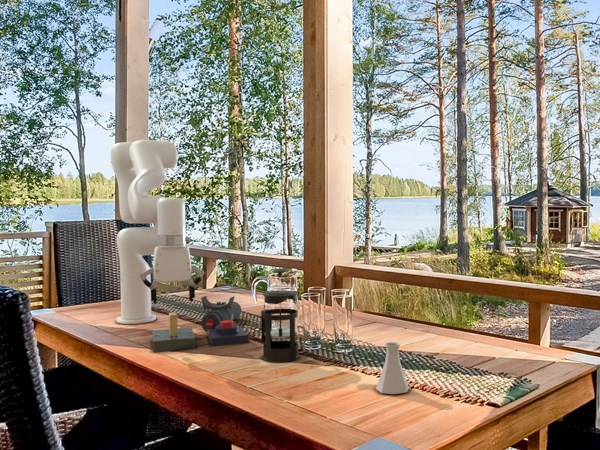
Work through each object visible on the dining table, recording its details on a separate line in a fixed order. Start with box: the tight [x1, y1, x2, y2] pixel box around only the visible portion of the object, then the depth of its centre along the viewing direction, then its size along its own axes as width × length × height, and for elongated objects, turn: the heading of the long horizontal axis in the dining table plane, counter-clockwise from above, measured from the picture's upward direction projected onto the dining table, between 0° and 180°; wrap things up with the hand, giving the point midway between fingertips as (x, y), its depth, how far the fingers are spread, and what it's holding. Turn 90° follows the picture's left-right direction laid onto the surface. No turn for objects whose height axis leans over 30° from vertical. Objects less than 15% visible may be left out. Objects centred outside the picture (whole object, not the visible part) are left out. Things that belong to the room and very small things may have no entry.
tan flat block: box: [168, 311, 179, 336], centre depth 161 cm, size 6×2×6 cm, turn 22°
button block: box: [206, 323, 249, 347], centre depth 167 cm, size 12×10×4 cm
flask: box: [375, 341, 410, 395], centre depth 123 cm, size 7×7×10 cm
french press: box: [260, 268, 300, 363], centre depth 148 cm, size 12×9×23 cm
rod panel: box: [151, 326, 197, 353], centre depth 161 cm, size 14×11×3 cm
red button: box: [221, 320, 234, 328], centre depth 167 cm, size 4×4×2 cm
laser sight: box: [200, 295, 242, 332], centre depth 185 cm, size 10×22×10 cm, turn 174°
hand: (173, 302), depth 161 cm, fingers open, 9 cm apart
